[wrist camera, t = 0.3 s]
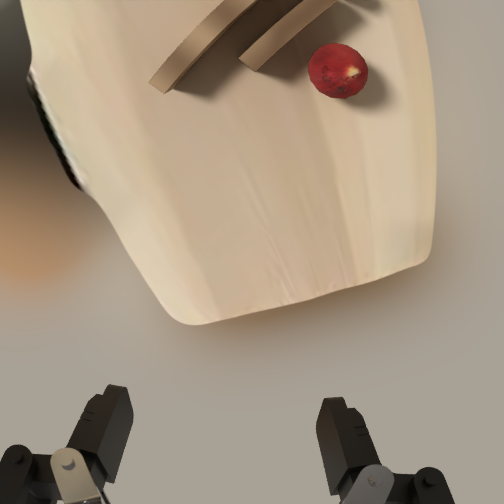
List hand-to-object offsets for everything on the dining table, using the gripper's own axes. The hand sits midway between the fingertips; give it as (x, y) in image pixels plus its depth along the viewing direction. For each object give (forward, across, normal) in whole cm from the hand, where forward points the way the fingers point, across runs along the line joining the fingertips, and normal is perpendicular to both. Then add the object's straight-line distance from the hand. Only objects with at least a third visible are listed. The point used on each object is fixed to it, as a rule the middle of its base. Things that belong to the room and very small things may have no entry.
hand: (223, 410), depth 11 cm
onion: (+25, -9, -20) cm, 33 cm away
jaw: (+22, +2, -24) cm, 33 cm away
